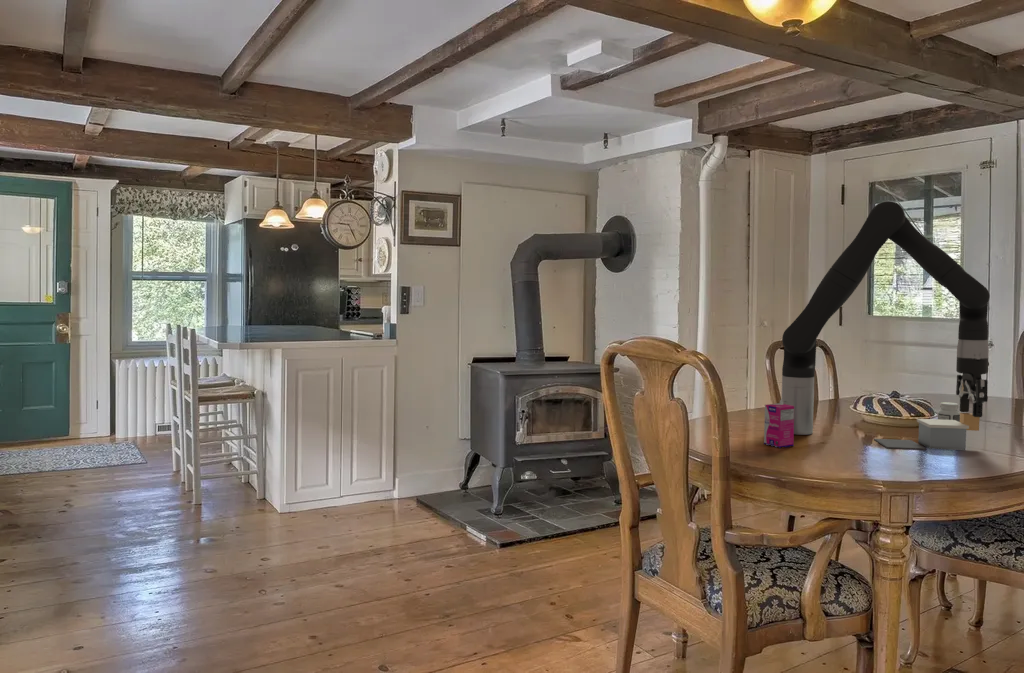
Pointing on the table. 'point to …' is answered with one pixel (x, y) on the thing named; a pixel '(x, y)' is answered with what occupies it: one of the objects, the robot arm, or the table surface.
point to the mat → (899, 444)
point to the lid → (954, 422)
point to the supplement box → (779, 425)
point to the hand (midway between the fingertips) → (970, 414)
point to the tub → (942, 438)
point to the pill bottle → (949, 411)
